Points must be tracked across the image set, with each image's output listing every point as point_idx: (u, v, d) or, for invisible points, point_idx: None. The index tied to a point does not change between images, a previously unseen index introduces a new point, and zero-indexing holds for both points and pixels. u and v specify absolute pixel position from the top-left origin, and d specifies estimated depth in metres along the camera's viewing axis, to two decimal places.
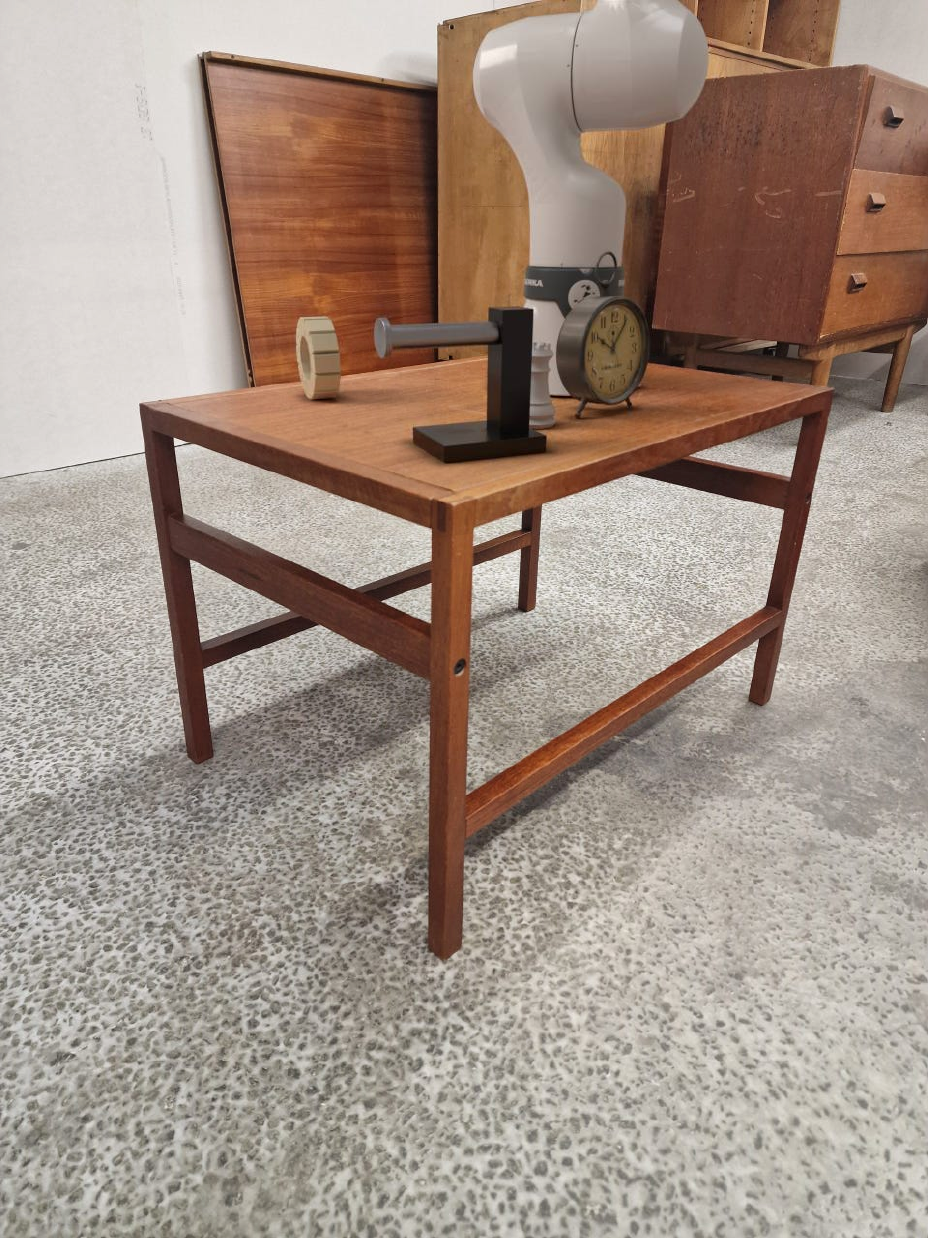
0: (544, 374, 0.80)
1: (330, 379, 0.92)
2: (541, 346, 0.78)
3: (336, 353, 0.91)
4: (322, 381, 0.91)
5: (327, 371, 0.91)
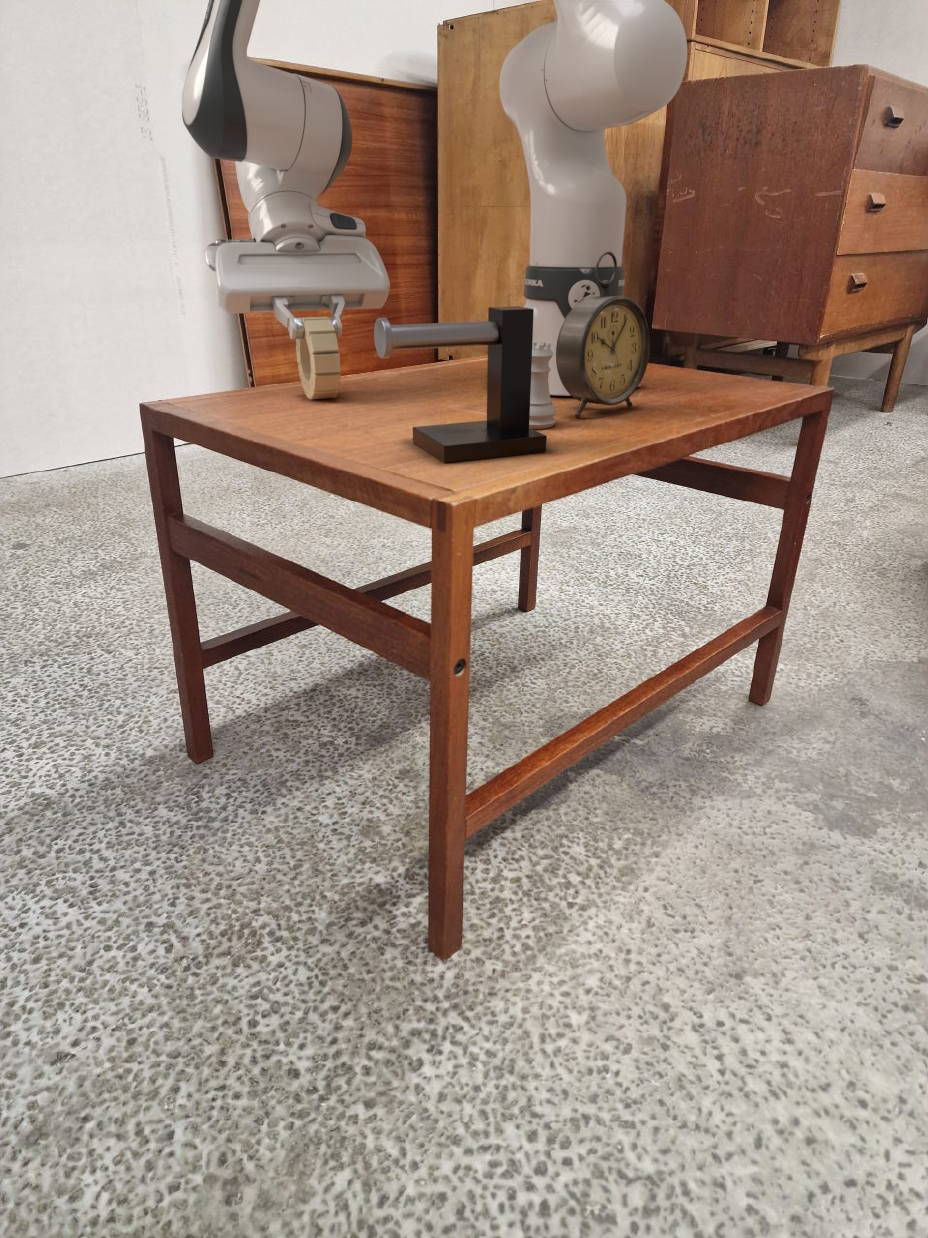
0: (544, 374, 0.80)
1: (330, 379, 0.92)
2: (541, 346, 0.78)
3: (336, 353, 0.91)
4: (322, 381, 0.91)
5: (327, 371, 0.91)
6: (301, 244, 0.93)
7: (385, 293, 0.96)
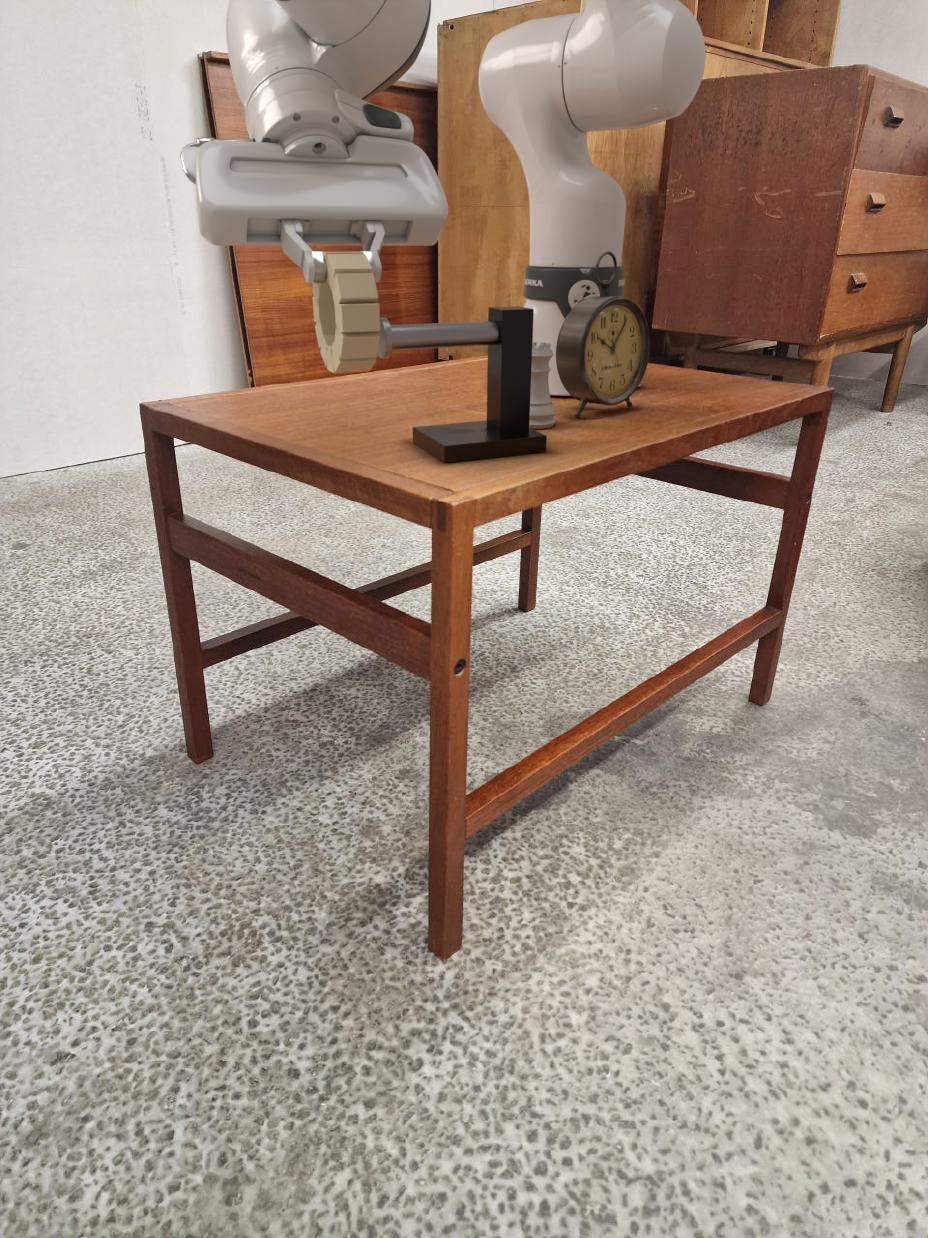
0: (544, 374, 0.80)
1: (364, 342, 0.62)
2: (541, 346, 0.78)
3: (374, 303, 0.61)
4: (353, 345, 0.62)
5: (360, 329, 0.61)
6: (322, 146, 0.64)
7: (442, 222, 0.67)
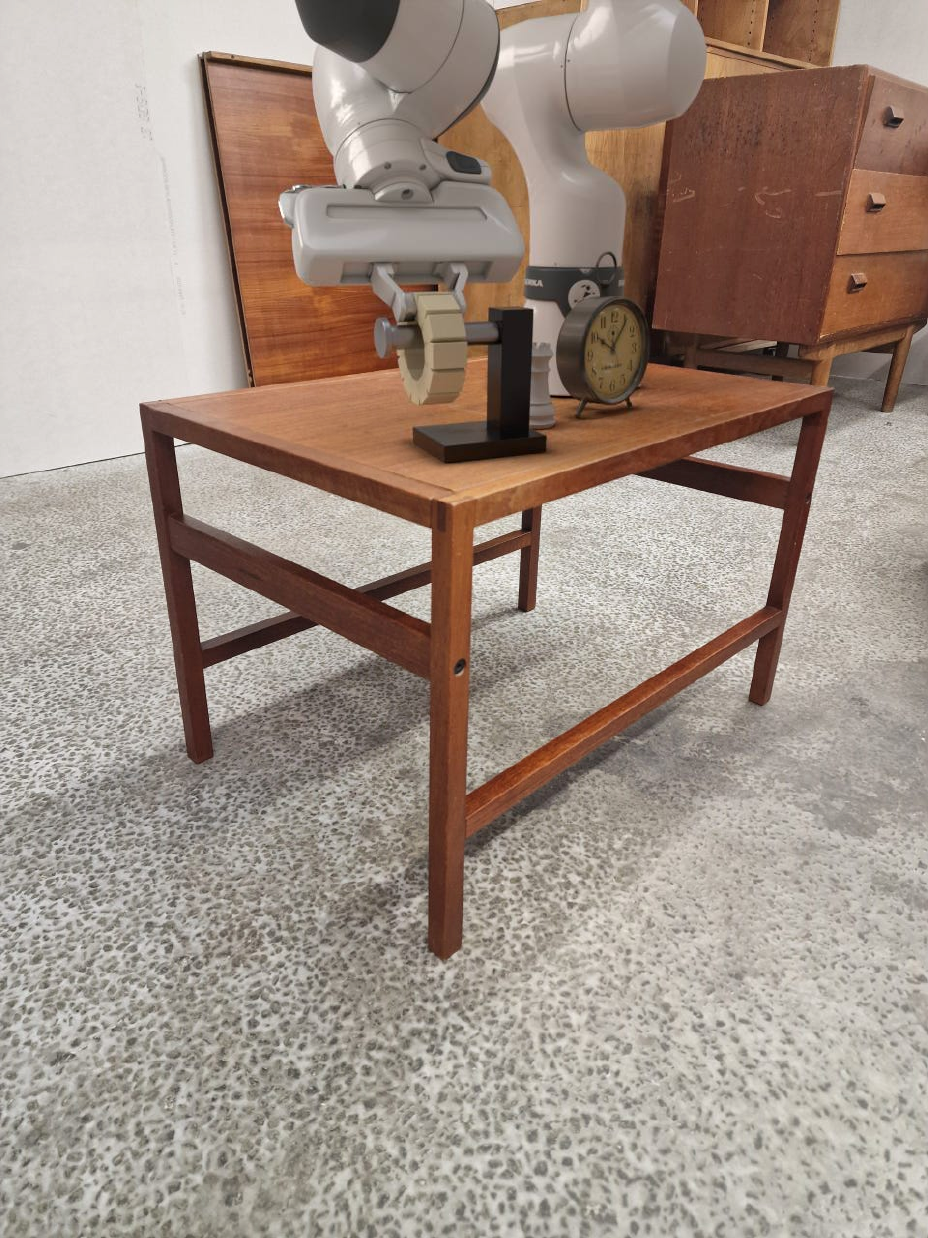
0: (544, 374, 0.80)
1: (452, 378, 0.66)
2: (541, 346, 0.78)
3: (462, 341, 0.65)
4: (441, 381, 0.66)
5: (449, 366, 0.65)
6: (409, 192, 0.68)
7: (519, 261, 0.71)
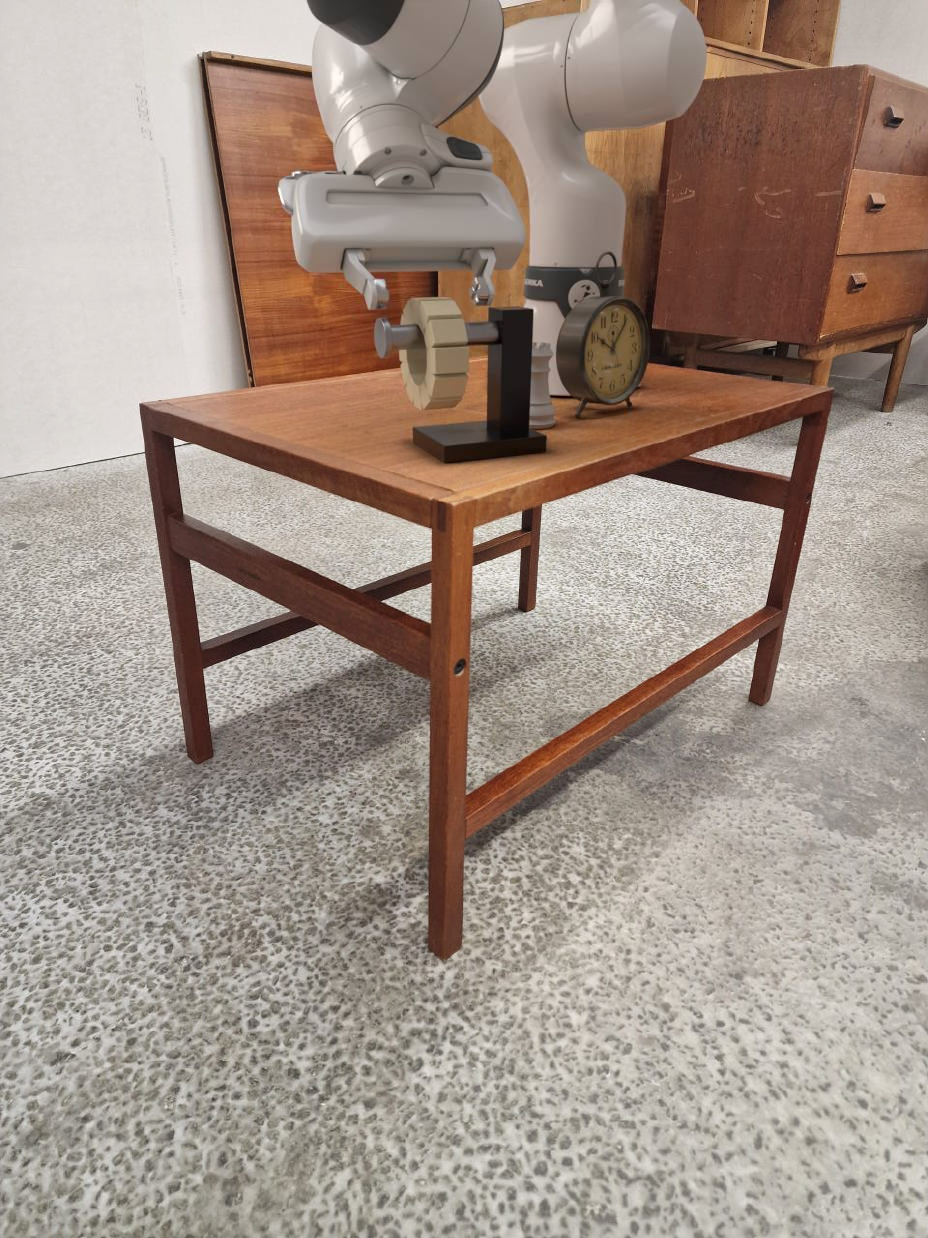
0: (544, 374, 0.80)
1: (454, 382, 0.66)
2: (541, 346, 0.78)
3: (464, 346, 0.65)
4: (443, 385, 0.66)
5: (451, 371, 0.66)
6: (409, 178, 0.68)
7: (520, 248, 0.70)
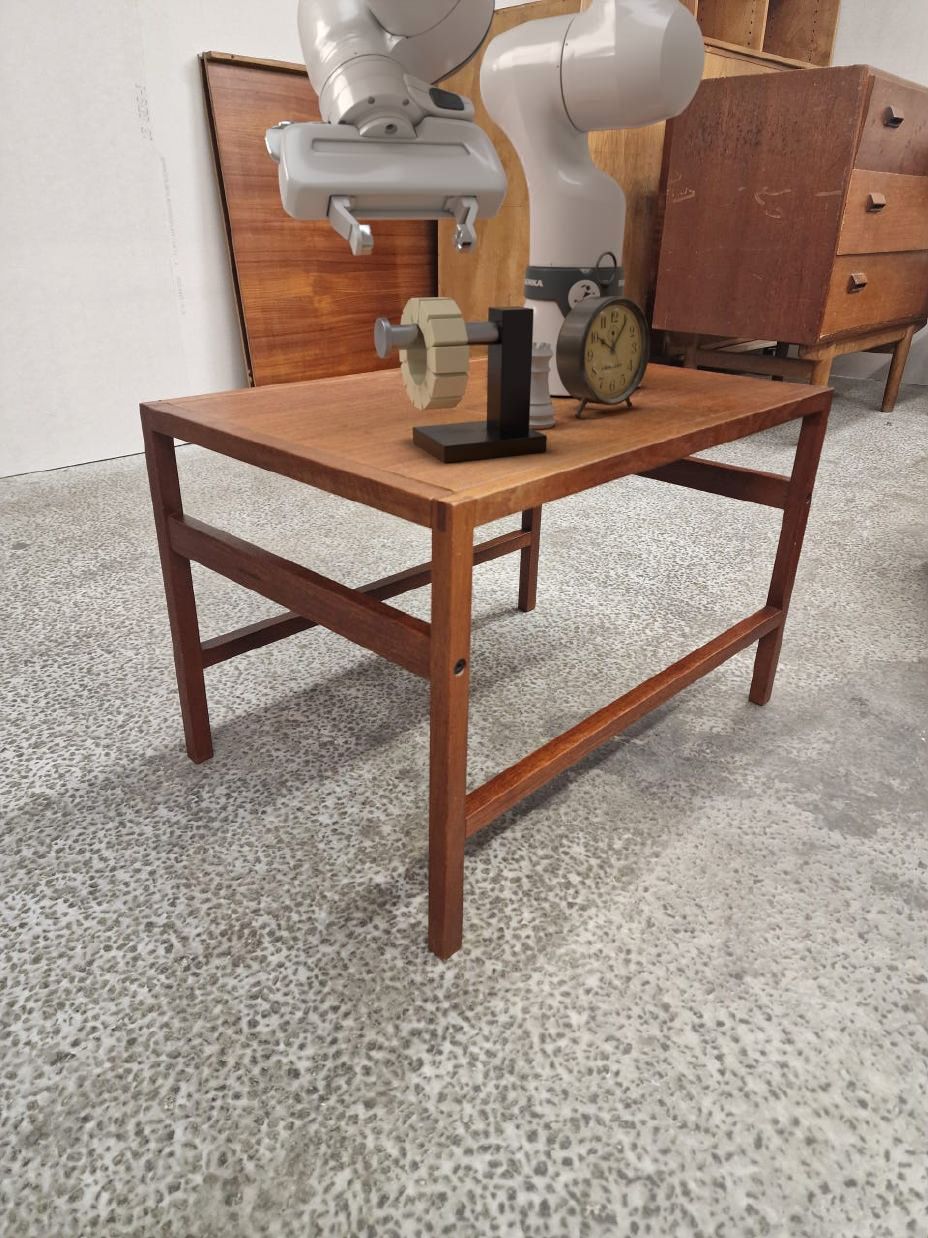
0: (544, 374, 0.80)
1: (454, 382, 0.66)
2: (541, 346, 0.78)
3: (464, 345, 0.65)
4: (444, 385, 0.66)
5: (451, 370, 0.65)
6: (393, 127, 0.69)
7: (502, 196, 0.72)
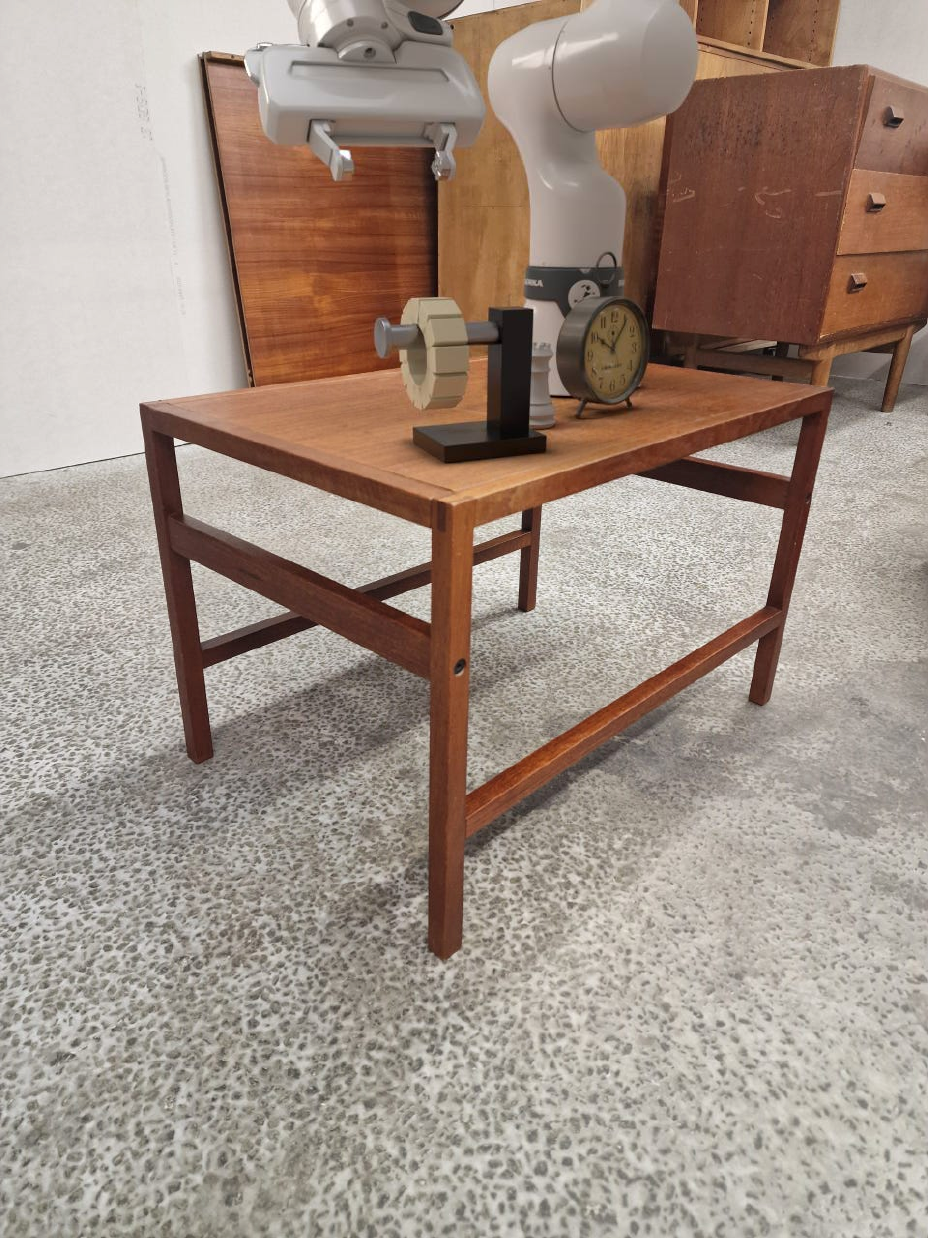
0: (544, 374, 0.80)
1: (454, 382, 0.66)
2: (541, 346, 0.78)
3: (464, 345, 0.65)
4: (444, 385, 0.66)
5: (451, 370, 0.65)
6: (372, 51, 0.70)
7: (480, 124, 0.73)
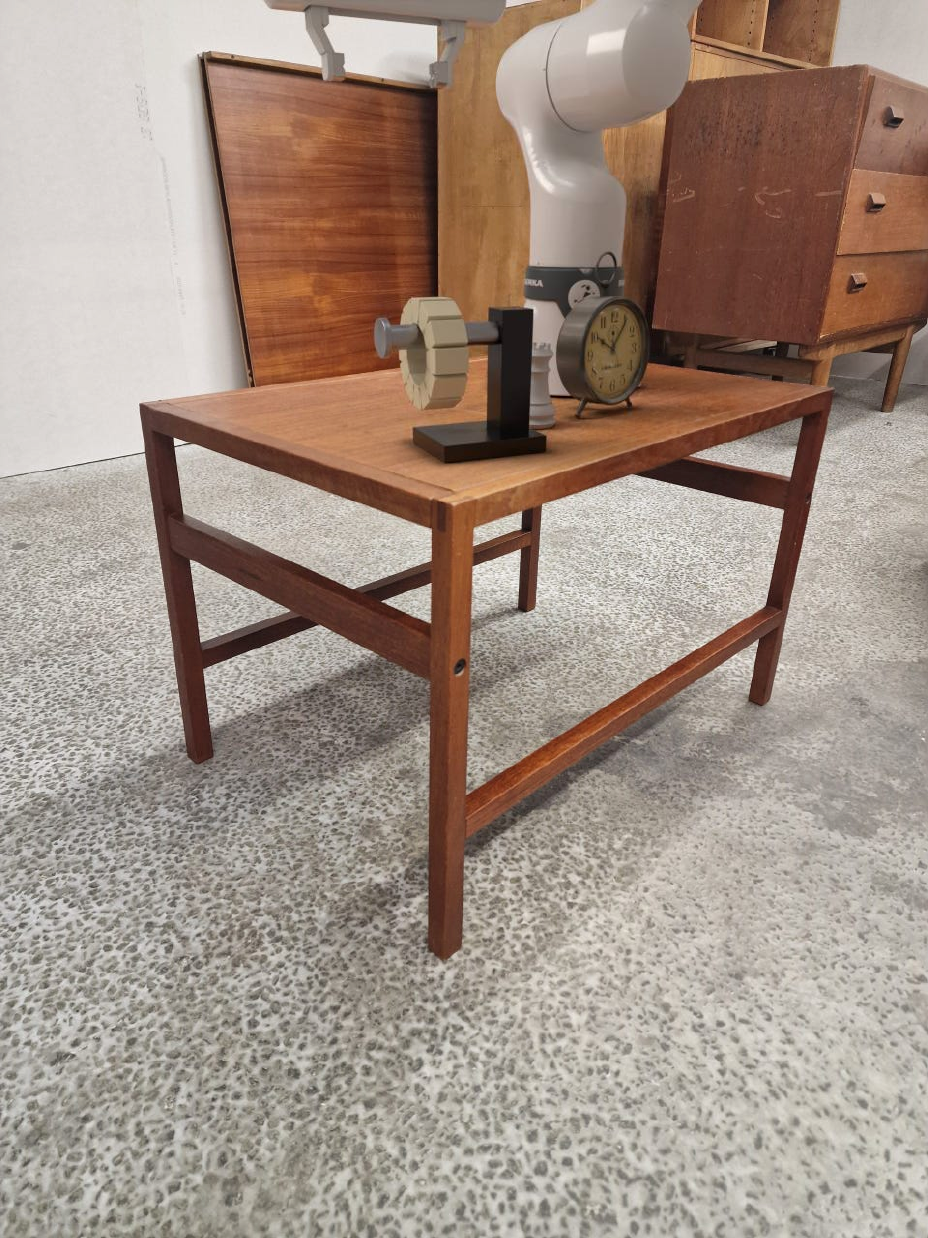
0: (544, 374, 0.80)
1: (453, 383, 0.66)
2: (541, 346, 0.78)
3: (464, 347, 0.66)
4: (443, 386, 0.66)
5: (451, 372, 0.66)
6: None
7: (494, 24, 0.68)
